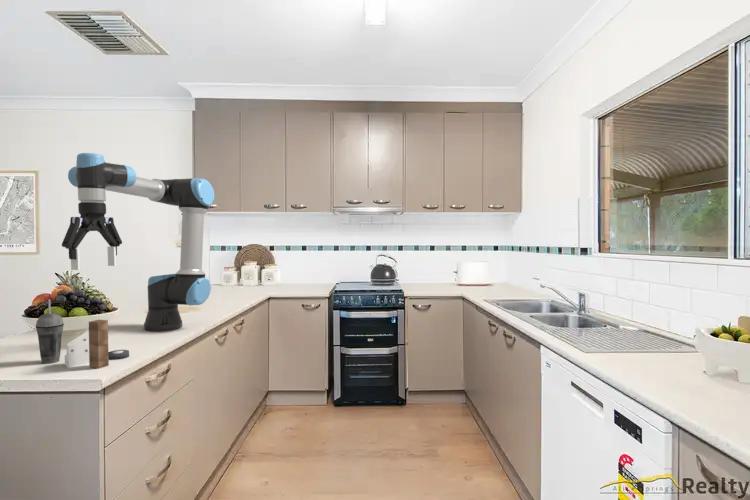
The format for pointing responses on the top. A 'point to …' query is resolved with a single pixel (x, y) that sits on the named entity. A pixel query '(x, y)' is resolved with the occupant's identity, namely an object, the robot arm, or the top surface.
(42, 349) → the beverage cup
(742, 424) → the top surface
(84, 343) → the white angled block
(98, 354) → the walnut post
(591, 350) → the top surface
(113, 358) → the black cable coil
